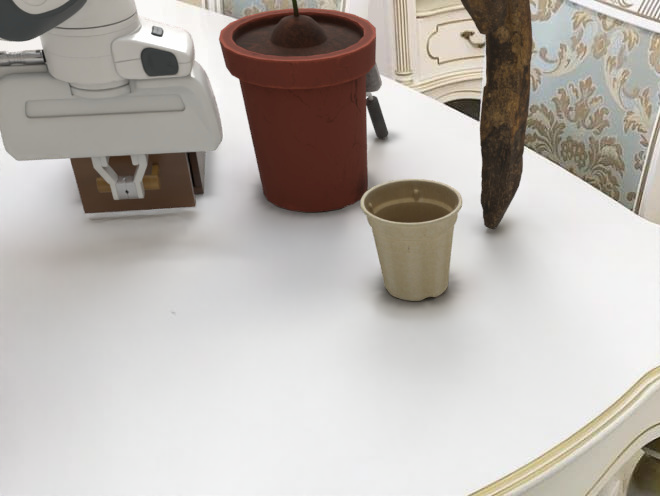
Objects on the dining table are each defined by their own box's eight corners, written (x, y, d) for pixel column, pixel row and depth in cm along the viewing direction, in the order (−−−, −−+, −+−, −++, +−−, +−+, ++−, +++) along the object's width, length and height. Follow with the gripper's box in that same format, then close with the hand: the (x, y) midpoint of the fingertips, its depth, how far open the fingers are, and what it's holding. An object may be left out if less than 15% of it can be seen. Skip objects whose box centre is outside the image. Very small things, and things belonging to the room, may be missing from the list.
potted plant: (216, 173, 126) (170, -84, 108) (384, 133, 134) (368, -111, 116) (281, 235, 115) (243, -37, 97) (460, 188, 124) (455, -70, 106)
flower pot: (367, 312, 105) (359, 224, 99) (367, 264, 111) (360, 179, 105) (466, 309, 105) (464, 222, 99) (461, 262, 112) (459, 177, 106)
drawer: (194, 225, 115) (177, 138, 108) (81, 232, 113) (57, 144, 107) (198, 154, 127) (183, 73, 120) (95, 160, 125) (74, 78, 119)
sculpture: (441, 234, 116) (430, -102, 94) (479, 208, 120) (476, -120, 99) (498, 251, 114) (500, -90, 92) (534, 223, 118) (544, -109, 96)
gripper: (-32, 65, 97) (17, 217, 107) (206, 55, 100) (231, 204, 110) (-20, 40, 102) (25, 189, 111) (207, 31, 104) (232, 177, 114)
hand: (129, 196), depth 111 cm, fingers closed, pressing on drawer
